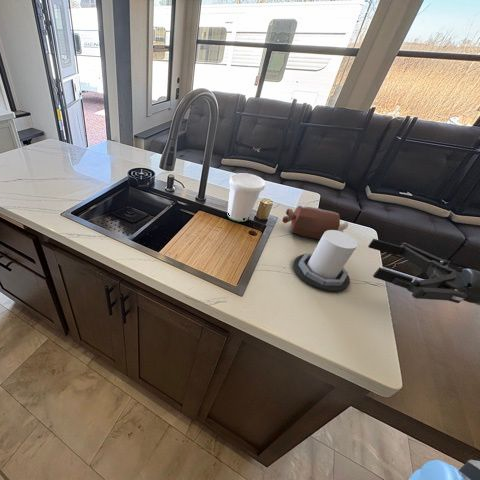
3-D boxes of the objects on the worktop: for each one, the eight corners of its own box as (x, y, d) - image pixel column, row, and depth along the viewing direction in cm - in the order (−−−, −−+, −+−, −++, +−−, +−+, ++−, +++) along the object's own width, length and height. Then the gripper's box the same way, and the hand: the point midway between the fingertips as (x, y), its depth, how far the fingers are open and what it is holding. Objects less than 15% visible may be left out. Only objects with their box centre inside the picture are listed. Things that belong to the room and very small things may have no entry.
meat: (335, 232, 94) (349, 208, 88) (341, 250, 86) (357, 226, 79) (278, 220, 99) (288, 196, 93) (278, 236, 91) (289, 212, 84)
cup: (216, 217, 99) (224, 181, 89) (229, 204, 107) (237, 170, 98) (247, 228, 93) (259, 191, 84) (258, 214, 102) (269, 179, 92)
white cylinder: (342, 281, 73) (364, 249, 65) (314, 280, 72) (333, 247, 65) (327, 261, 79) (346, 230, 72) (301, 260, 79) (318, 229, 71)
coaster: (359, 293, 71) (364, 286, 69) (306, 292, 70) (310, 285, 69) (330, 257, 83) (334, 250, 81) (285, 256, 82) (288, 249, 80)
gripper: (490, 340, 52) (369, 298, 60) (451, 268, 70) (362, 242, 78) (523, 318, 48) (388, 275, 55) (473, 247, 65) (376, 222, 73)
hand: (373, 256), depth 67 cm, fingers open, 13 cm apart
